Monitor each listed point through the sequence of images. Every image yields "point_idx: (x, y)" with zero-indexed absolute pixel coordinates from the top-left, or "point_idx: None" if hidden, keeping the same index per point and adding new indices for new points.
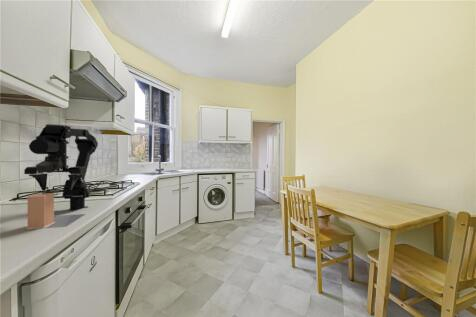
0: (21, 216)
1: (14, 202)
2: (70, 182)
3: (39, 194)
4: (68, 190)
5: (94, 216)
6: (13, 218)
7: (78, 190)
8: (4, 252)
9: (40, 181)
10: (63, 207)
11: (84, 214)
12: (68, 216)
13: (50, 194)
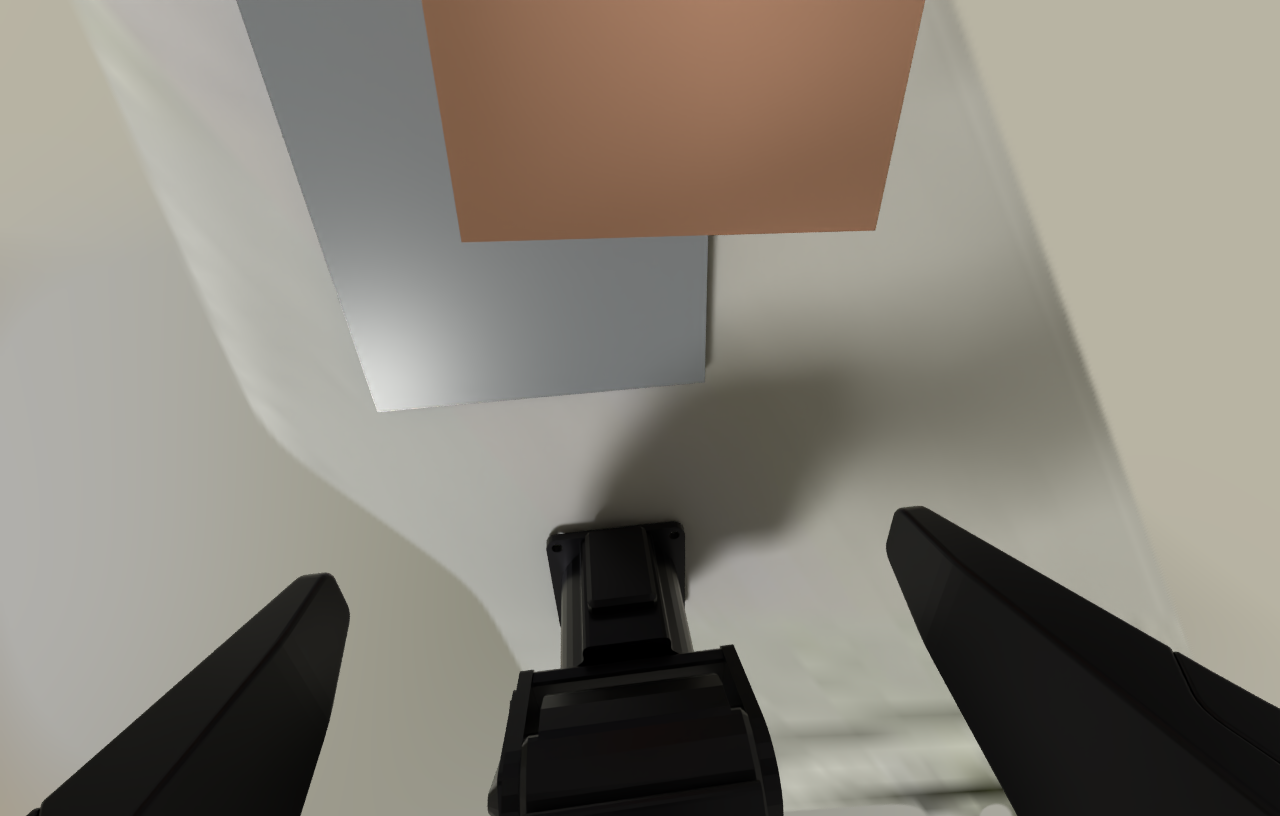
0: (991, 435)
1: None
2: (84, 809)
3: (784, 75)
4: (682, 740)
5: (255, 370)
6: (1031, 390)
7: (546, 755)
8: None
9: (1185, 721)
10: (778, 622)
11: (382, 399)
12: (518, 349)
13: (437, 67)
